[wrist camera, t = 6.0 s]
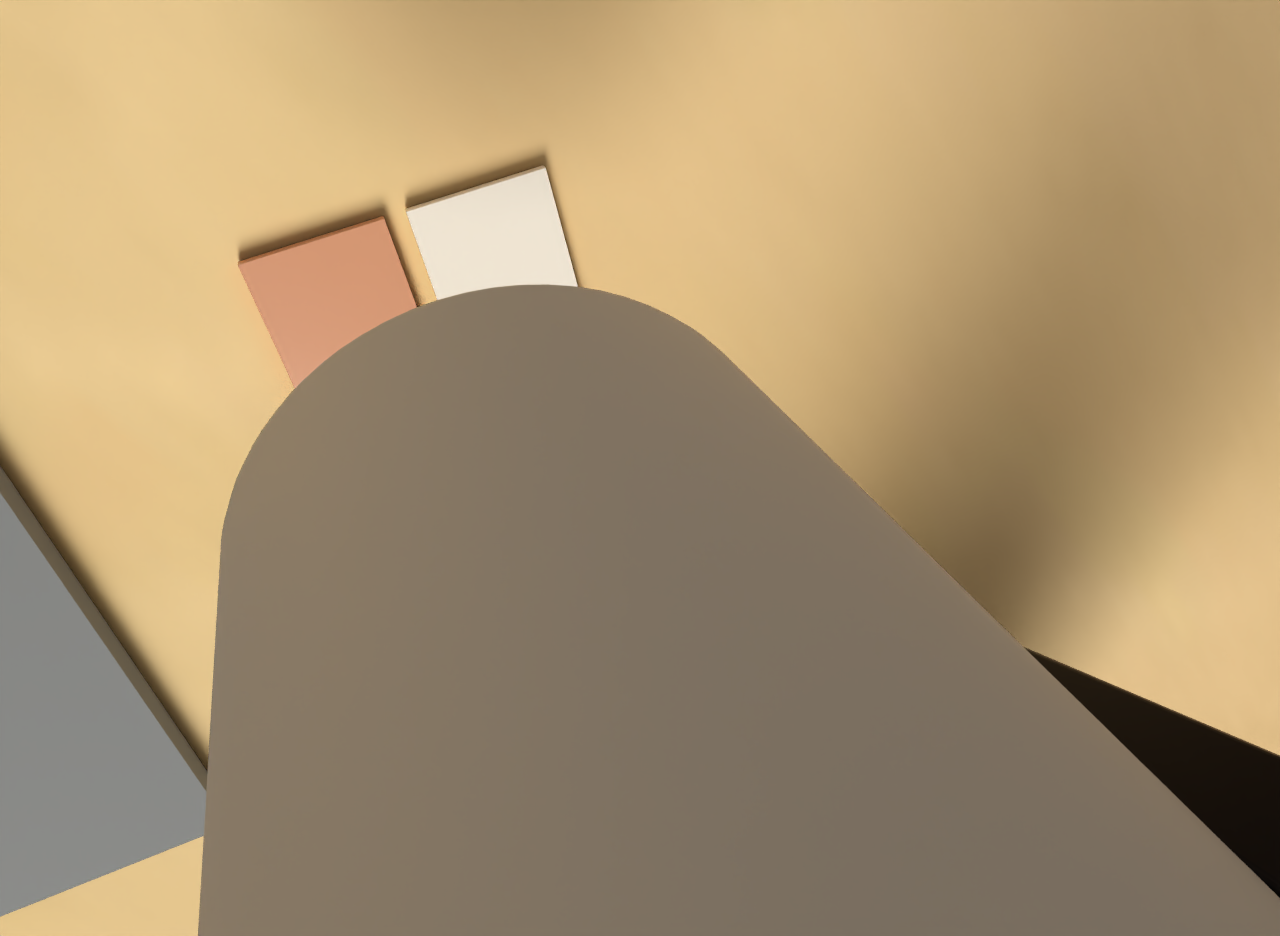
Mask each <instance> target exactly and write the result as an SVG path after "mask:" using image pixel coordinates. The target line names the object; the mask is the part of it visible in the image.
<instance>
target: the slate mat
mask: <svg viewBox="0 0 1280 936" xmlns="http://www.w3.org/2000/svg"><path fill="white" fill-rule="evenodd" d="M207 774H208V772H207V770H206V769H205V767H204V766H203V764H202V763H201V761H200V760H199V758H198V757H197V755H196V754H195V753H194V751H193V750H192V748H191V747H190V745H189V744H188V742H187V741H186V739H185V738H184V736H183V735H182V733H181V732H180V730H179V729H178V727H177V726H176V724H175V723H174V722H173V720H172V719H171V717H170V716H169V714H168V713H167V711H166V710H165V708H164V707H163V705H162V704H161V702H160V701H159V699H158V698H157V696H156V695H155V693H154V692H153V691H152V689H151V688H150V686H149V685H148V683H147V682H146V680H145V679H144V677H143V676H142V674H141V673H140V671H139V670H138V668H137V667H136V665H135V664H134V662H133V661H132V659H131V658H130V657H129V655H128V654H127V652H126V651H125V649H124V648H123V646H122V645H121V643H120V642H119V640H118V639H117V637H116V636H115V634H114V633H113V631H112V630H111V628H110V627H109V626H108V624H107V623H106V621H105V620H104V618H103V617H102V615H101V614H100V612H99V611H98V609H97V608H96V606H95V605H94V603H93V602H92V600H91V599H90V597H89V596H88V595H87V593H86V592H85V590H84V589H83V587H82V586H81V584H80V583H79V581H78V580H77V578H76V577H75V575H74V574H73V572H72V571H71V569H70V568H69V566H68V565H67V563H66V562H65V561H64V559H63V558H62V556H61V555H60V553H59V552H58V550H57V549H56V547H55V546H54V544H53V543H52V541H51V540H50V538H49V537H48V535H47V534H46V532H45V531H44V530H43V528H42V527H41V525H40V524H39V522H38V521H37V519H36V518H35V516H34V515H33V513H32V512H31V510H30V509H29V507H28V506H27V504H26V503H25V501H24V500H23V499H22V497H21V496H20V494H19V493H18V491H17V490H16V488H15V487H14V485H13V484H12V482H11V481H10V479H9V478H8V476H7V475H6V473H5V472H4V470H3V469H2V468H1V466H0V916H3V915H5V914H8V913H10V912H13V911H16V910H18V909H21V908H23V907H26V906H28V905H31V904H33V903H36V902H38V901H41V900H43V899H46V898H48V897H51V896H53V895H56V894H58V893H61V892H63V891H66V890H68V889H71V888H73V887H76V886H78V885H81V884H83V883H86V882H88V881H91V880H93V879H96V878H98V877H101V876H103V875H106V874H109V873H111V872H114V871H116V870H119V869H121V868H124V867H126V866H129V865H131V864H134V863H136V862H139V861H141V860H144V859H146V858H149V857H151V856H154V855H156V854H159V853H161V852H164V851H166V850H169V849H171V848H174V847H176V846H179V845H181V844H184V843H186V842H189V841H191V840H194V839H196V838H199V837H202V836H204V825H205V808H206V791H207Z"/></svg>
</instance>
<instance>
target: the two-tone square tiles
mask: <svg viewBox="0 0 1280 936" xmlns="http://www.w3.org/2000/svg"><path fill="white" fill-rule="evenodd" d="M405 211H406V213H407V216H408V219H409V222H410V225H411V227H412V230H413V233H414V236H415V239H416V241H417V244H418V247H419V250H420V253H421V255H422V258H423V261H424V264H425V267H426V270H427V272H428V275H429V278H430V281H431V284H432V286H433V289H434V292H435V295H436V298H437V300H440V299H443V298H447V297H451V296H454V295H458V294H462V293H466V292H471V291H476V290H482V289H487V288H493V287H503V286H513V285H540V284H550V285H563V286H576V287H578V285H577V282H576V278H575V274H574V271H573V267H572V263H571V260H570V256H569V252H568V248H567V245H566V241H565V237H564V234H563V230H562V226H561V223H560V219H559V215H558V212H557V208H556V204H555V201H554V197H553V193H552V190H551V186H550V182H549V179H548V175H547V171H546V168H545V167H544V166H539V167H536V168H533V169H530V170H527V171H524V172H520V173H517V174H514V175H511V176H508V177H505V178H501V179H498V180H495V181H492V182H489V183H486V184H482V185H479V186H476V187H473V188H470V189H467V190H463V191H460V192H457V193H454V194H451V195H448V196H444V197H441V198H438V199H435V200H432V201H429V202H425V203H422V204H419V205H416V206H413V207H410V208H406V209H405ZM238 267H239V269H240V271H241V273H242V275H243V277H244V279H245V282H246V284H247V286H248V288H249V290H250V292H251V295H252V297H253V299H254V301H255V303H256V305H257V308H258V310H259V312H260V314H261V316H262V318H263V321H264V323H265V325H266V327H267V329H268V331H269V333H270V336H271V338H272V340H273V342H274V344H275V346H276V349H277V351H278V353H279V355H280V357H281V359H282V362H283V364H284V366H285V368H286V370H287V372H288V375H289V377H290V379H291V381H292V383H293V385H294V387H295V388H296V387H297V386H298V385H299V384H300V383H301V382H302V381H303V380H304V379H305V378H306V377H307V376H308V375H309V374H311V373H312V372H313V371H314V370H315V369H316V368H317V367H318V366H319V365H321V364H322V363H323V362H324V361H325V360H327V359H328V358H329V357H330V356H332V355H333V354H334V353H336V352H337V351H338V350H339V349H341V348H342V347H344V346H345V345H347V344H349V343H350V342H352V341H353V340H355V339H356V338H358V337H359V336H361V335H362V334H364V333H366V332H368V331H370V330H371V329H373V328H375V327H377V326H378V325H380V324H382V323H384V322H385V321H388V320H390V319H392V318H394V317H396V316H398V315H401V314H403V313H405V312H407V311H409V310H412V309H414V308H417V306H416V303H415V301H414V298H413V295H412V293H411V290H410V287H409V284H408V282H407V279H406V276H405V274H404V271H403V268H402V265H401V263H400V260H399V257H398V255H397V252H396V249H395V246H394V244H393V241H392V238H391V236H390V233H389V230H388V228H387V225H386V222H385V219H384V217H383V216H381V217H378V218H375V219H372V220H369V221H365V222H362V223H359V224H356V225H353V226H350V227H346V228H343V229H340V230H337V231H334V232H331V233H327V234H324V235H321V236H318V237H315V238H312V239H308V240H305V241H302V242H299V243H296V244H293V245H289V246H286V247H283V248H280V249H277V250H274V251H270V252H267V253H264V254H261V255H258V256H255V257H252V258H248V259H245V260H242V261H239V262H238Z"/></svg>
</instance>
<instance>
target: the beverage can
mask: <svg viewBox="0 0 1280 936" xmlns="http://www.w3.org/2000/svg"><path fill="white" fill-rule="evenodd" d="M198 936H1280V898H1279V897H1278V896H1277V895H1276V894H1275V893H1274V892H1273V891H1272V890H1271V889H1270V888H1269V887H1268V886H1267V885H1266V884H1265V883H1264V882H1263V881H1262V880H1261V879H1260V878H1259V877H1258V876H1257V875H1256V874H1255V873H1254V872H1253V871H1252V870H1251V869H1250V868H1249V867H1248V866H1247V865H1246V864H1245V863H1244V862H1243V861H1241V860H1240V859H1239V858H1238V857H1237V856H1236V855H1235V854H1234V853H1233V852H1232V851H1231V850H1230V849H1229V848H1228V847H1227V846H1226V845H1225V844H1224V843H1223V842H1222V841H1221V840H1220V839H1219V838H1218V837H1217V836H1216V835H1215V834H1214V833H1213V832H1212V831H1211V830H1210V829H1209V828H1208V827H1207V826H1206V825H1205V824H1204V823H1203V822H1202V821H1201V820H1200V819H1199V818H1198V817H1197V816H1196V815H1195V814H1193V813H1192V812H1191V811H1190V810H1189V809H1188V808H1187V807H1186V806H1185V805H1184V804H1183V803H1182V802H1181V801H1180V800H1179V799H1178V798H1177V797H1176V796H1175V795H1174V794H1173V793H1172V792H1171V791H1170V790H1169V789H1168V788H1167V787H1166V786H1165V785H1164V784H1163V783H1162V782H1161V781H1160V780H1159V779H1158V778H1157V777H1156V776H1155V775H1154V774H1153V773H1152V772H1151V771H1150V770H1149V769H1148V768H1147V767H1145V766H1144V765H1143V764H1142V763H1141V762H1140V761H1139V760H1138V759H1137V758H1136V757H1135V756H1134V755H1133V754H1132V753H1131V752H1130V751H1129V750H1128V749H1127V748H1126V747H1125V746H1124V745H1123V744H1122V743H1121V742H1120V741H1119V740H1118V739H1117V738H1116V737H1115V736H1114V735H1113V734H1112V733H1111V732H1110V731H1109V730H1108V729H1107V728H1106V727H1105V726H1104V725H1103V724H1102V723H1101V722H1100V721H1099V720H1097V719H1096V718H1095V717H1094V716H1093V715H1092V714H1091V713H1090V712H1089V711H1088V710H1087V709H1086V708H1085V707H1084V706H1083V705H1082V704H1081V703H1080V702H1079V701H1078V700H1077V699H1076V698H1075V697H1074V696H1073V695H1072V694H1071V693H1070V692H1069V691H1068V690H1067V689H1066V688H1065V687H1064V686H1063V685H1062V684H1061V683H1060V682H1059V681H1058V680H1057V679H1056V678H1055V677H1054V676H1053V675H1052V674H1051V673H1049V672H1048V671H1047V670H1046V669H1045V668H1044V667H1043V666H1042V665H1041V664H1040V663H1039V662H1038V661H1037V660H1036V659H1035V658H1034V657H1033V656H1032V655H1031V654H1030V653H1029V652H1028V651H1027V650H1026V649H1025V648H1024V647H1023V646H1022V645H1021V644H1020V643H1019V642H1018V641H1017V640H1016V639H1015V638H1014V637H1013V636H1012V635H1011V634H1010V633H1009V632H1008V631H1007V630H1006V629H1005V628H1004V627H1003V626H1001V625H1000V624H999V623H998V622H997V621H996V620H995V619H994V618H993V617H992V616H991V615H990V614H989V613H988V612H987V611H986V610H985V609H984V608H983V607H982V606H981V605H980V604H979V603H978V602H977V601H976V600H975V599H974V598H973V597H972V596H971V595H970V594H969V593H968V592H967V591H966V590H965V589H964V588H963V587H962V586H961V585H960V584H959V583H958V582H957V581H956V580H955V579H953V578H952V577H951V576H950V575H949V574H948V573H947V572H946V571H945V570H944V569H943V568H942V567H941V566H940V565H939V564H938V563H937V562H936V561H935V560H934V559H933V558H932V557H931V556H930V555H929V554H928V553H927V552H926V551H925V550H924V549H923V548H922V547H921V546H920V545H919V544H918V543H917V542H916V541H915V540H914V539H913V538H912V537H911V536H910V535H909V534H908V533H907V532H905V531H904V530H903V529H902V528H901V527H900V526H899V525H898V524H897V523H896V522H895V521H894V520H893V519H892V518H891V517H890V516H889V515H888V514H887V513H886V512H885V511H884V510H883V509H882V508H881V507H880V506H879V505H878V504H877V503H876V502H875V501H874V500H873V499H872V498H871V497H870V496H869V495H868V494H867V493H866V492H865V491H864V490H863V489H862V488H861V487H860V486H859V485H857V484H856V483H855V482H854V481H853V480H852V479H851V478H850V477H849V476H848V475H847V474H846V473H845V472H844V471H843V470H842V469H841V468H840V467H839V466H838V465H837V464H836V463H835V462H834V461H833V460H832V459H831V458H830V457H829V456H828V455H827V454H826V453H825V452H824V451H823V450H822V449H821V448H820V447H819V446H818V445H817V444H816V443H815V442H814V441H813V440H812V439H811V438H809V437H808V436H807V435H806V434H805V433H804V432H803V431H802V430H801V429H800V428H799V427H798V426H797V425H796V424H795V423H794V422H793V421H792V420H791V419H790V418H789V417H788V416H787V415H786V414H785V413H784V412H783V411H782V410H781V409H780V408H779V407H778V406H777V405H776V404H775V403H774V402H773V401H772V400H771V399H770V398H769V397H768V396H767V395H766V394H765V393H764V392H763V391H761V390H760V389H759V388H758V387H757V386H756V385H755V384H754V383H753V382H752V381H751V380H750V379H749V378H748V377H747V376H746V375H745V374H744V373H743V372H742V371H741V370H740V369H739V368H738V367H737V366H736V365H735V364H734V363H733V362H732V361H731V360H730V359H729V358H728V357H727V356H726V355H725V354H723V353H722V352H721V351H720V350H719V349H718V348H717V347H716V346H714V345H713V344H712V343H711V342H709V341H708V340H707V339H706V338H705V337H703V336H702V335H701V334H700V333H698V332H697V331H695V330H694V329H692V328H691V327H689V326H688V325H686V324H684V323H682V322H681V321H679V320H677V319H675V318H673V317H672V316H670V315H668V314H666V313H664V312H661V311H659V310H657V309H655V308H653V307H651V306H649V305H646V304H643V303H641V302H638V301H635V300H632V299H630V298H627V297H624V296H620V295H616V294H612V293H608V292H604V291H600V290H594V289H588V288H582V287H576V286H563V285H550V284H540V285H513V286H503V287H493V288H487V289H482V290H476V291H471V292H466V293H462V294H458V295H454V296H451V297H447V298H443V299H440V300H436V301H434V302H431V303H428V304H425V305H423V306H420V307H417V308H414V309H412V310H409V311H407V312H405V313H403V314H401V315H398V316H396V317H394V318H392V319H390V320H388V321H385V322H384V323H382V324H380V325H378V326H377V327H375V328H373V329H371V330H370V331H368V332H366V333H364V334H362V335H361V336H359V337H358V338H356V339H355V340H353V341H352V342H350V343H349V344H347V345H345V346H344V347H342V348H341V349H339V350H338V351H337V352H336V353H334V354H333V355H332V356H330V357H329V358H328V359H327V360H325V361H324V362H323V363H322V364H321V365H319V366H318V367H317V368H316V369H315V370H314V371H313V372H312V373H311V374H309V375H308V376H307V377H306V378H305V379H304V380H303V381H302V382H301V383H300V384H299V385H298V386H297V387H296V388H295V389H294V390H293V391H292V392H291V393H290V394H289V396H288V397H287V398H286V399H285V401H284V402H283V403H282V404H281V406H280V407H279V408H278V409H277V410H276V412H275V413H274V414H273V416H272V417H271V418H270V420H269V421H268V423H267V424H266V425H265V427H264V428H263V429H262V431H261V433H260V434H259V436H258V437H257V439H256V441H255V442H254V444H253V446H252V448H251V450H250V452H249V454H248V456H247V458H246V460H245V462H244V464H243V466H242V468H241V470H240V472H239V475H238V477H237V479H236V482H235V485H234V488H233V491H232V494H231V498H230V501H229V505H228V509H227V513H226V516H225V520H224V525H223V530H222V538H221V552H220V569H219V586H218V603H217V620H216V637H215V654H214V671H213V689H212V706H211V723H210V740H209V757H208V774H207V791H206V808H205V825H204V842H203V859H202V876H201V893H200V910H199V927H198Z"/></svg>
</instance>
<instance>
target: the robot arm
mask: <svg viewBox="0 0 1280 936" xmlns="http://www.w3.org/2000/svg"><path fill="white" fill-rule="evenodd" d="M1024 648H1025V647H1024ZM1025 649H1026V650H1027V651H1028V652H1029V653H1030V654H1031V655H1032V656H1033V657H1034V658H1035V659H1036V660H1037V661H1038V662H1039V663H1040V664H1041V665H1042V666H1043V667H1044V668H1045V669H1046V670H1047V671H1048V672H1049V673H1051V674H1052V675H1053V676H1054V677H1055V678H1056V679H1057V680H1058V681H1059V682H1060V683H1061V684H1062V685H1063V686H1064V687H1065V688H1066V689H1067V690H1068V691H1069V692H1070V693H1071V694H1072V695H1073V696H1074V697H1075V698H1076V699H1077V700H1078V701H1079V702H1080V703H1081V704H1082V705H1083V706H1084V707H1085V708H1086V709H1087V710H1088V711H1089V712H1090V713H1091V714H1092V715H1093V716H1094V717H1095V718H1096V719H1097V720H1099V721H1100V722H1101V723H1102V724H1103V725H1104V726H1105V727H1106V728H1107V729H1108V730H1109V731H1110V732H1111V733H1112V734H1113V735H1114V736H1115V737H1116V738H1117V739H1118V740H1119V741H1120V742H1121V743H1122V744H1123V745H1124V746H1125V747H1126V748H1127V749H1128V750H1129V751H1130V752H1131V753H1132V754H1133V755H1134V756H1135V757H1136V758H1137V759H1138V760H1139V761H1140V762H1141V763H1142V764H1143V765H1144V766H1145V767H1147V768H1148V769H1149V770H1150V771H1151V772H1152V773H1153V774H1154V775H1155V776H1156V777H1157V778H1158V779H1159V780H1160V781H1161V782H1162V783H1163V784H1164V785H1165V786H1166V787H1167V788H1168V789H1169V790H1170V791H1171V792H1172V793H1173V794H1174V795H1175V796H1176V797H1177V798H1178V799H1179V800H1180V801H1181V802H1182V803H1183V804H1184V805H1185V806H1186V807H1187V808H1188V809H1189V810H1190V811H1191V812H1192V813H1193V814H1195V815H1196V816H1197V817H1198V818H1199V819H1200V820H1201V821H1202V822H1203V823H1204V824H1205V825H1206V826H1207V827H1208V828H1209V829H1210V830H1211V831H1212V832H1213V833H1214V834H1215V835H1216V836H1217V837H1218V838H1219V839H1220V840H1221V841H1222V842H1223V843H1224V844H1225V845H1226V846H1227V847H1228V848H1229V849H1230V850H1231V851H1232V852H1233V853H1234V854H1235V855H1236V856H1237V857H1238V858H1239V859H1240V860H1241V861H1243V862H1244V863H1245V864H1246V865H1247V866H1248V867H1249V868H1250V869H1251V870H1252V871H1253V872H1254V873H1255V874H1256V875H1257V876H1258V877H1259V878H1260V879H1261V880H1262V881H1263V882H1264V883H1265V884H1266V885H1267V886H1268V887H1269V888H1270V889H1271V890H1272V891H1273V892H1274V893H1275V894H1276V895H1277V896H1278V897H1279V898H1280V756H1279V755H1277V754H1275V753H1272V752H1270V751H1268V750H1265V749H1263V748H1261V747H1258V746H1256V745H1254V744H1251V743H1249V742H1246V741H1244V740H1242V739H1239V738H1237V737H1235V736H1232V735H1230V734H1228V733H1225V732H1223V731H1221V730H1218V729H1216V728H1213V727H1211V726H1209V725H1206V724H1204V723H1202V722H1199V721H1197V720H1195V719H1192V718H1190V717H1188V716H1185V715H1183V714H1180V713H1178V712H1176V711H1173V710H1171V709H1169V708H1166V707H1164V706H1162V705H1159V704H1157V703H1155V702H1152V701H1150V700H1147V699H1145V698H1143V697H1140V696H1138V695H1136V694H1133V693H1131V692H1129V691H1126V690H1124V689H1122V688H1119V687H1117V686H1114V685H1112V684H1110V683H1107V682H1105V681H1103V680H1100V679H1098V678H1096V677H1093V676H1091V675H1089V674H1086V673H1084V672H1082V671H1079V670H1077V669H1074V668H1072V667H1070V666H1067V665H1065V664H1063V663H1060V662H1058V661H1056V660H1053V659H1051V658H1049V657H1046V656H1044V655H1041V654H1039V653H1037V652H1034V651H1032V650H1030V649H1027V648H1025Z"/></svg>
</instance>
